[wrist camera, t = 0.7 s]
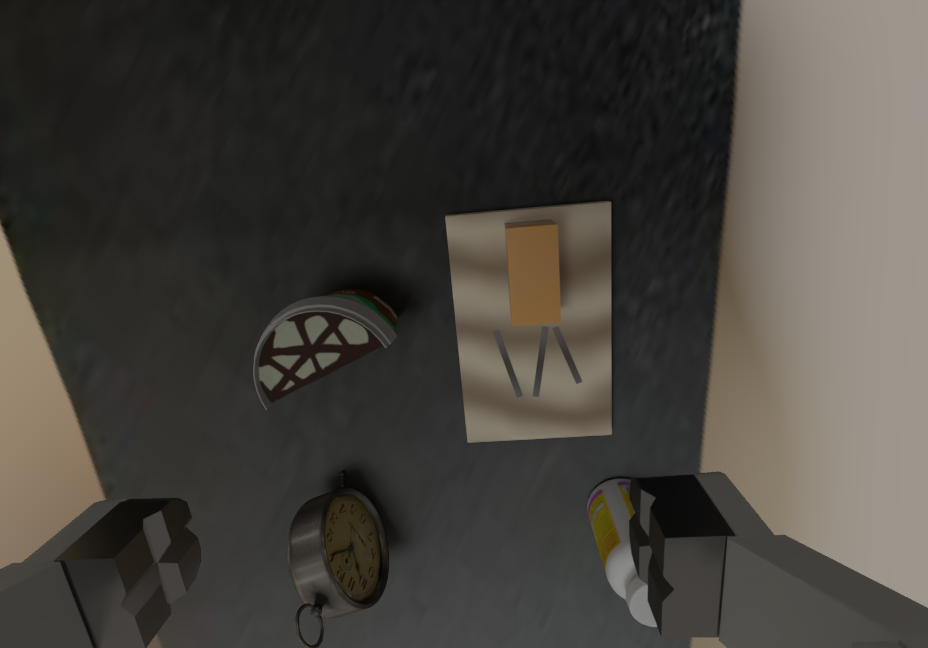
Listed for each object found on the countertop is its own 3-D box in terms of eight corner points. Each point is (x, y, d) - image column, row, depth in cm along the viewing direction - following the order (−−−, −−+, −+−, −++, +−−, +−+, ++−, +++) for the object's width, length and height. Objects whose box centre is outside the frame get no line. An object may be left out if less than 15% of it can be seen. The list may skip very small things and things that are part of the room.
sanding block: (504, 223, 42) (505, 228, 38) (551, 219, 42) (557, 224, 38) (510, 312, 45) (512, 326, 41) (554, 309, 44) (561, 322, 40)
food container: (378, 251, 45) (349, 273, 35) (412, 309, 46) (392, 344, 37) (269, 312, 47) (214, 348, 38) (305, 365, 49) (260, 412, 39)
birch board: (446, 214, 44) (445, 216, 42) (607, 200, 43) (611, 201, 41) (468, 434, 50) (467, 442, 49) (608, 426, 49) (611, 434, 48)
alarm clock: (401, 536, 54) (366, 682, 39) (359, 552, 55) (309, 701, 40) (351, 457, 52) (293, 580, 36) (307, 476, 53) (233, 604, 37)
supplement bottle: (596, 536, 53) (629, 645, 41) (577, 486, 51) (605, 585, 39) (658, 518, 52) (710, 625, 40) (640, 467, 50) (689, 562, 38)
